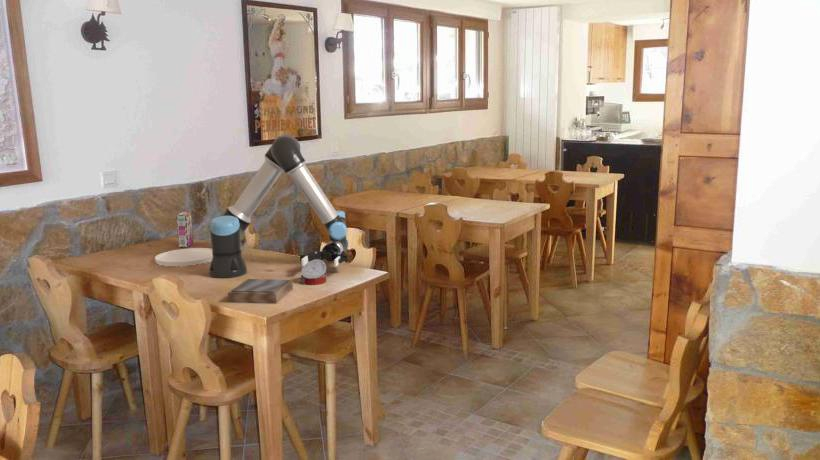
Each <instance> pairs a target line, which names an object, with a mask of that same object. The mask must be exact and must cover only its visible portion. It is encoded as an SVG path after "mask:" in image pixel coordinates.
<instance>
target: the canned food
mask: <svg viewBox="0 0 820 460" xmlns="http://www.w3.org/2000/svg"><path fill="white" fill-rule="evenodd" d="M300 270H301V272H300V273H301V275H300V278H301V279H300V281H301V284H302V285H304V286H319V285H320V286H321V285H323V284H325V283H326V282H327V273H326V272H327V265H326V263H325V261H324V259H323V260H320V259H315V260H312V261H308V263H307V264H305V265H304V266H302V268H301V269H300Z"/></svg>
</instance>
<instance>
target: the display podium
mask: <svg viewBox="0 0 820 460" xmlns="http://www.w3.org/2000/svg"><path fill="white" fill-rule="evenodd" d="M293 284H294V282H293V280H292V279H265V278H264V279H263V278H261V279H258V278H248V279H245V280H244V281H243V282H241V283H239V284H238V285H237V286H235V287H234V288H232V289H231V290H229V291H228V292H227V299H228V300H227V301H228V303H240V302H245V303H244V304H246V302H248V303H247V304H250V303H251V304H278V303H279V302H280V301H281V300H282V299H283V298H285V297H286V296H287V295H288V294H289V293H290V292H292V291H293V289H294V285H293ZM277 302H278V303H277Z"/></svg>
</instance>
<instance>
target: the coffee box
mask: <svg viewBox="0 0 820 460" xmlns="http://www.w3.org/2000/svg"><path fill="white" fill-rule="evenodd" d="M247 240H248V239H247V229H246V230H245V232H244V233H243V235H242V236H241V238H240V241H241V251H242V249H243V250H244V249H247V248H248V243H247V242H248V241H247Z"/></svg>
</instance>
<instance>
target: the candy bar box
mask: <svg viewBox="0 0 820 460" xmlns="http://www.w3.org/2000/svg"><path fill="white" fill-rule="evenodd" d="M192 221H193V220H192V211H182V212H179V213H178V214H177V215H176V229H177V242H178V248H179V249H181V248H180V247H187V248H189V247H190V246H191V245H192V244H193V243H194V237H193V222H192Z"/></svg>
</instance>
